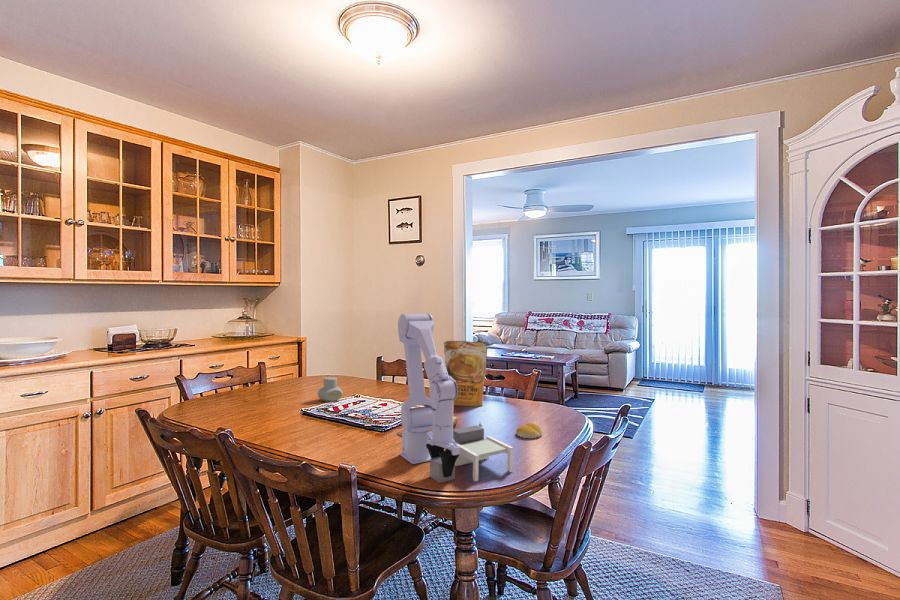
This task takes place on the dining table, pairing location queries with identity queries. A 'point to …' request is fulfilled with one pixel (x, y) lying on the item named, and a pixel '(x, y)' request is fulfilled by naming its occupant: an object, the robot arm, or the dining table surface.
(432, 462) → the grey cube
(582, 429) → the dining table surface
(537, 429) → the bread roll
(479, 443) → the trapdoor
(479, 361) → the pancake mix bag
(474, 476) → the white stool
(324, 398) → the air freshener
